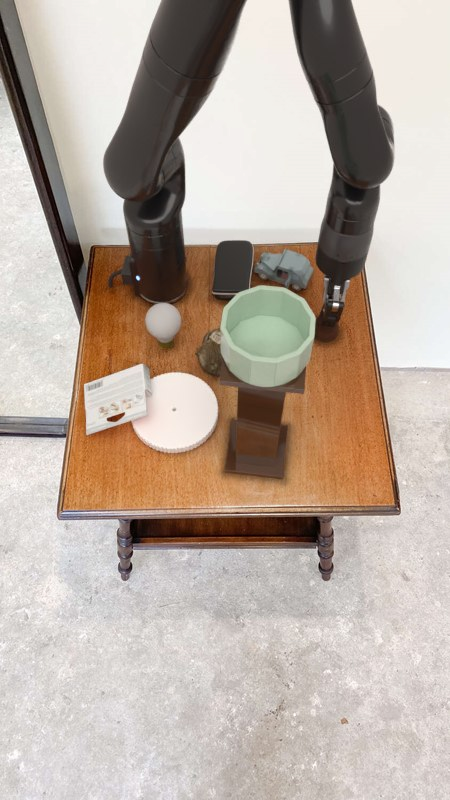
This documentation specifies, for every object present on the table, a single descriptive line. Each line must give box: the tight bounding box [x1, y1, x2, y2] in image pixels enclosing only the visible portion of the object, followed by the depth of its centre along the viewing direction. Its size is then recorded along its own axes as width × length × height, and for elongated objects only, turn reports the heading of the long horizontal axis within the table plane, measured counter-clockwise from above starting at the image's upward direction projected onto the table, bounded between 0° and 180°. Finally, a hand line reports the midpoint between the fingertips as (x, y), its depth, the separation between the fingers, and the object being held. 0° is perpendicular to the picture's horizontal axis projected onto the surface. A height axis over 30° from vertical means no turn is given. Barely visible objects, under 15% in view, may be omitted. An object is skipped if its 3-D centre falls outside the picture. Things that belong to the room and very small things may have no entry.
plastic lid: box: [130, 371, 219, 454], centre depth 104 cm, size 14×14×2 cm
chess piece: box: [314, 294, 339, 343], centre depth 110 cm, size 5×5×10 cm
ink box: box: [83, 363, 152, 436], centre depth 103 cm, size 2×11×10 cm
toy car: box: [253, 248, 315, 291], centre depth 117 cm, size 6×10×5 cm, turn 67°
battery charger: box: [211, 239, 255, 301], centre depth 118 cm, size 7×4×11 cm
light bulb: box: [144, 303, 182, 350], centre depth 108 cm, size 6×6×10 cm
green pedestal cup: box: [218, 284, 317, 480], centre depth 88 cm, size 11×11×34 cm
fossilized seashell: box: [194, 327, 223, 376], centre depth 109 cm, size 8×7×10 cm
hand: (328, 311), depth 109 cm, fingers closed on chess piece, 5 cm apart
